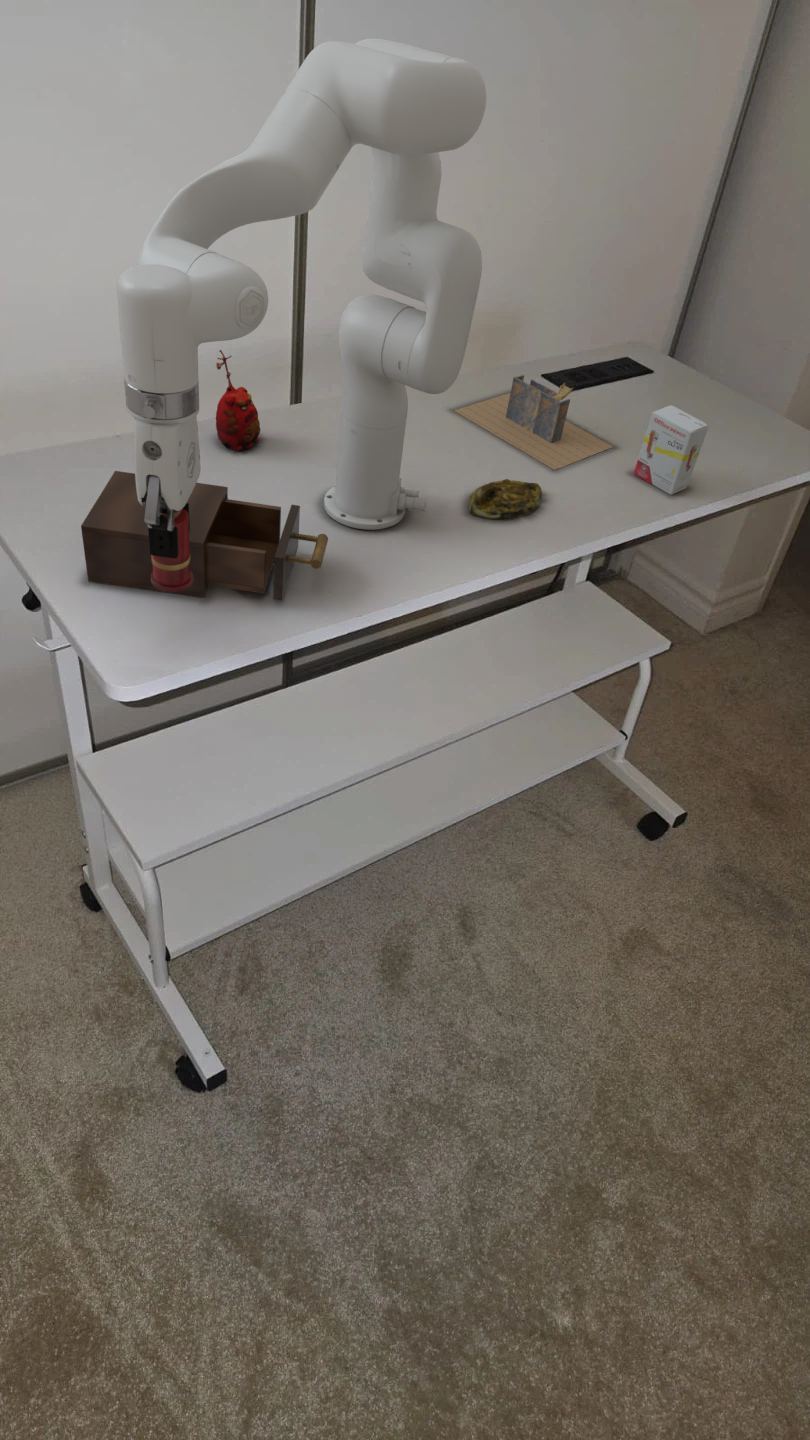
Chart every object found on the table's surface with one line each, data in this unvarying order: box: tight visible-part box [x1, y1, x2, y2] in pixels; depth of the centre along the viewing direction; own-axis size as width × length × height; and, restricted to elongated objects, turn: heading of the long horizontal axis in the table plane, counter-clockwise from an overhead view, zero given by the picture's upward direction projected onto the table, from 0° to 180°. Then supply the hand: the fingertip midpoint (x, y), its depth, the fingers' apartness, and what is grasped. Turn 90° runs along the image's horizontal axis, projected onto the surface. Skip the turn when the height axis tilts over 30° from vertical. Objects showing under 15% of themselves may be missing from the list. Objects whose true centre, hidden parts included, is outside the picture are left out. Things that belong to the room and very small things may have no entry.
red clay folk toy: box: [215, 349, 261, 452], centre depth 154 cm, size 8×7×15 cm
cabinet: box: [80, 470, 229, 599], centre depth 130 cm, size 16×14×9 cm
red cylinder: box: [151, 498, 193, 592], centre depth 112 cm, size 5×5×12 cm
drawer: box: [205, 498, 329, 602], centre depth 130 cm, size 19×13×7 cm
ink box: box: [633, 405, 709, 496], centre depth 163 cm, size 9×5×12 cm, turn 41°
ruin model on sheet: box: [453, 374, 614, 471], centre depth 172 cm, size 25×16×10 cm, turn 42°
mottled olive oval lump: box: [468, 478, 543, 521], centre depth 154 cm, size 9×5×15 cm
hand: (170, 542), depth 113 cm, fingers closed on red cylinder, 4 cm apart
